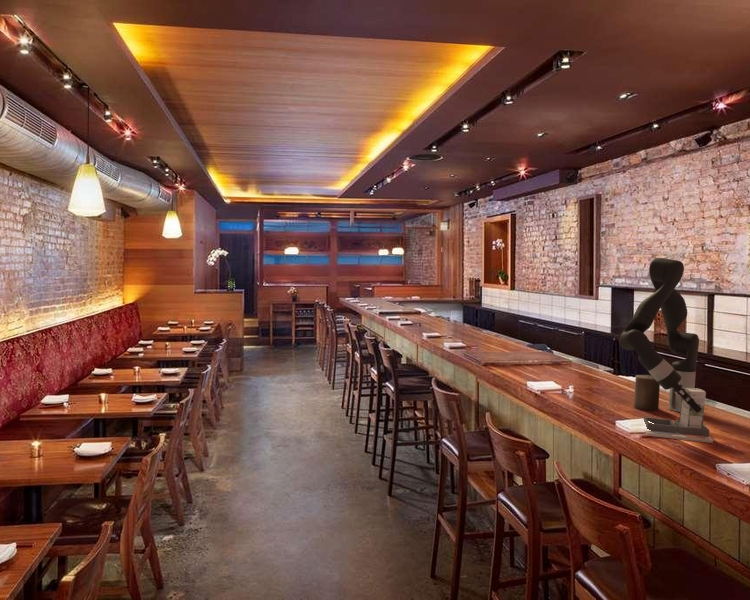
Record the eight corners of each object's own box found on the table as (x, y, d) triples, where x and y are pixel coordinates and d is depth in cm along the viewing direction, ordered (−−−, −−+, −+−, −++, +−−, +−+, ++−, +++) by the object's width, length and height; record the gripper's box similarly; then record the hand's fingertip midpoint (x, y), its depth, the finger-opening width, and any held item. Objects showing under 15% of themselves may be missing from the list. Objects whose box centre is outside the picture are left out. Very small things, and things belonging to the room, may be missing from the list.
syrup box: (693, 426, 217) (696, 387, 216) (702, 430, 211) (706, 391, 210) (678, 425, 217) (681, 387, 216) (687, 430, 211) (690, 390, 210)
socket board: (641, 425, 224) (641, 416, 224) (703, 431, 218) (704, 422, 218) (646, 435, 211) (647, 426, 210) (712, 442, 205) (713, 433, 204)
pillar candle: (661, 412, 245) (663, 376, 244) (636, 410, 247) (638, 374, 246) (654, 406, 255) (657, 372, 254) (630, 404, 257) (633, 370, 256)
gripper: (676, 370, 208) (710, 406, 205) (669, 364, 221) (701, 397, 219) (659, 384, 210) (692, 420, 207) (652, 376, 223) (684, 410, 221)
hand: (697, 408), depth 213 cm, fingers closed on syrup box, 7 cm apart
